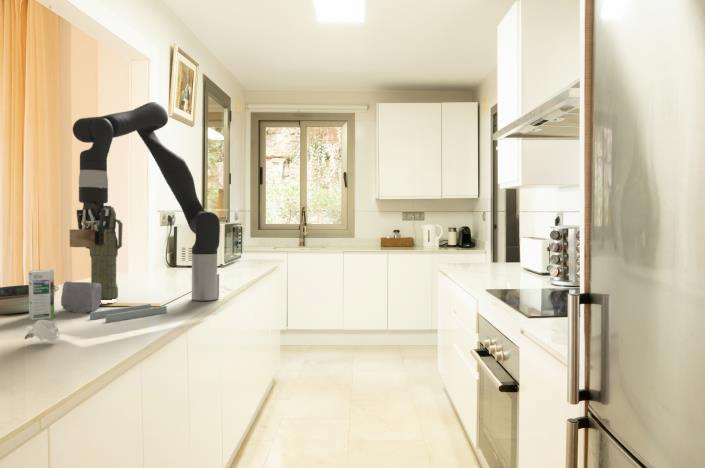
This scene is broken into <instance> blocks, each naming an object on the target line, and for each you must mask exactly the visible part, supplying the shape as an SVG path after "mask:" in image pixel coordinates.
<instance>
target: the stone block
mask: <svg viewBox="0 0 705 468" xmlns="http://www.w3.org/2000/svg"><path fill="white" fill-rule="evenodd" d="M100 303H101V284H99V283H91V282H83V281H81V282H80V281H78V282H77V281H65V282H63V285H62V291H61V296H60V304H61V307H62V309H63V310H65V311H69V312H72V313H73V312H74V313H84V314H85V313H90V312H96V311H97V310H98V309H99V308H100V305H101V304H100Z"/></svg>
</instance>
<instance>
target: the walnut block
mask: <svg viewBox="0 0 705 468" xmlns="http://www.w3.org/2000/svg"><path fill="white" fill-rule="evenodd" d="M95 232H96V231H95V229H79V228H78V229H76V228H75V229H69V247H70V248H86V247H106V231H105V232H104V244H103V245H96V244H95Z"/></svg>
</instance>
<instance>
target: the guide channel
mask: <svg viewBox="0 0 705 468" xmlns="http://www.w3.org/2000/svg"><path fill="white" fill-rule="evenodd" d="M167 309H168V306H165V305H161V306H156V307H152V304H151V303H146V304H141V305H140V304H139V305H133V306H126V307H117V308H112V309H103V310H98V311H97V310H96V311H93V312H89V319H90V320H99V319H104V318H105V323H112V322H117V321H122V320H124V321H125V320H130V319H136V318H142V317H148V316H153V315H160V314H165V313H168V312H167Z"/></svg>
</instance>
